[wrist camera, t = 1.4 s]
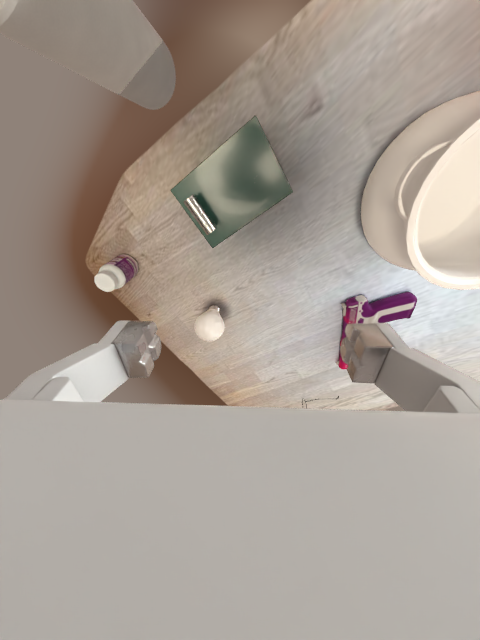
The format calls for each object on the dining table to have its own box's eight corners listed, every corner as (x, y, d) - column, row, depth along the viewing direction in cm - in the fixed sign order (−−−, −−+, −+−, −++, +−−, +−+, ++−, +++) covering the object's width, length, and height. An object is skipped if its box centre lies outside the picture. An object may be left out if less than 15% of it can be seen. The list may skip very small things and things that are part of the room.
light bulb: (233, 311, 58) (228, 338, 49) (213, 323, 61) (206, 351, 52) (215, 292, 56) (208, 317, 47) (196, 306, 58) (184, 332, 49)
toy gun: (390, 358, 64) (333, 361, 66) (410, 289, 52) (340, 295, 54) (396, 368, 61) (336, 371, 63) (419, 297, 49) (344, 303, 51)
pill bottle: (125, 248, 51) (101, 264, 43) (144, 268, 53) (124, 286, 45) (110, 262, 53) (84, 279, 45) (128, 280, 55) (107, 299, 47)
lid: (213, 247, 41) (208, 255, 37) (171, 189, 36) (161, 192, 32) (292, 191, 35) (296, 194, 31) (255, 116, 31) (255, 108, 27)
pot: (328, 242, 48) (358, 274, 34) (400, 77, 34) (500, 16, 20) (442, 270, 49) (515, 312, 35) (552, 125, 36) (741, 100, 22)
